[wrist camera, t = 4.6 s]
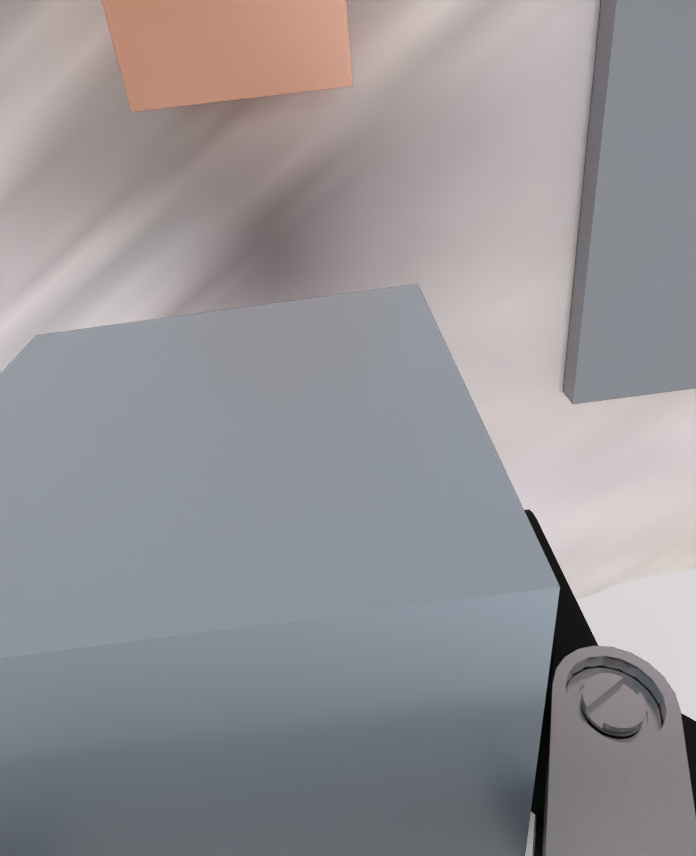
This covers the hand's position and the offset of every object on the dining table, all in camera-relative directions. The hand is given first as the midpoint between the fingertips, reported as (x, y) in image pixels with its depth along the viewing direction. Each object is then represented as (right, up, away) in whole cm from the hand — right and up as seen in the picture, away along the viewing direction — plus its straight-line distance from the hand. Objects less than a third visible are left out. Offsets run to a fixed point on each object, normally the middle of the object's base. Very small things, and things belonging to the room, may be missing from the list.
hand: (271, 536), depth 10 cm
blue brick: (0, 0, +1) cm, 1 cm away
